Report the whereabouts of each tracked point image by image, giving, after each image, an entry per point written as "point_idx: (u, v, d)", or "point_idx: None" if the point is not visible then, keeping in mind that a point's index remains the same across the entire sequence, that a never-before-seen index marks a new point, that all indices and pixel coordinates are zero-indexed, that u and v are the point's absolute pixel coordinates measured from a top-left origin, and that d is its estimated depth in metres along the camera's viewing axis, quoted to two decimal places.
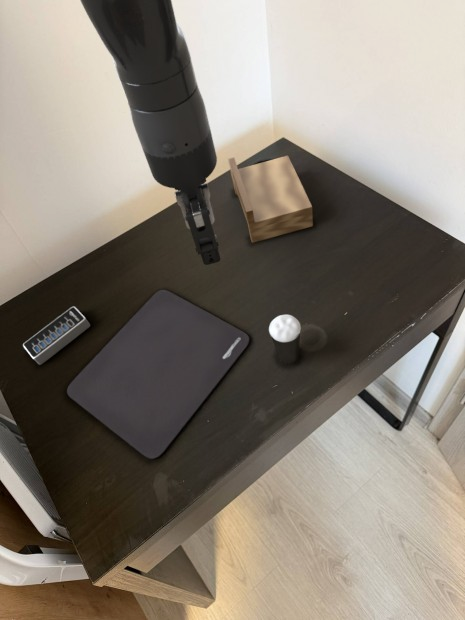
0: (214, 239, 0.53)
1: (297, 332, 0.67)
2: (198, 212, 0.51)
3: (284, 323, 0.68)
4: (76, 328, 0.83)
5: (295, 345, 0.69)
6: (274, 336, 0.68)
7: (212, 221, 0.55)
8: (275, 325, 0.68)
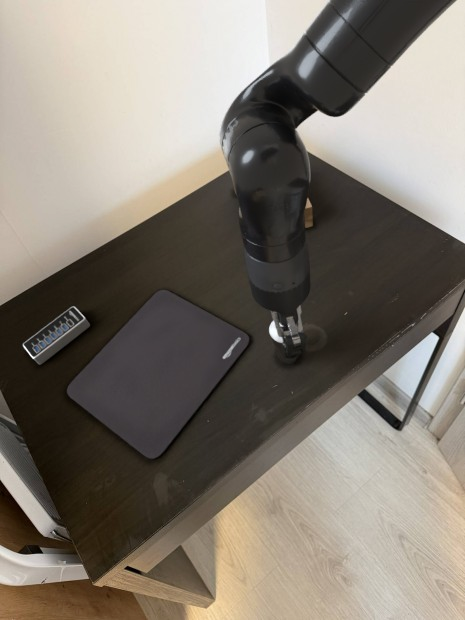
0: (304, 349, 0.62)
1: None
2: (297, 338, 0.59)
3: None
4: (76, 328, 0.83)
5: None
6: (274, 337, 0.67)
7: (300, 330, 0.63)
8: (275, 326, 0.68)
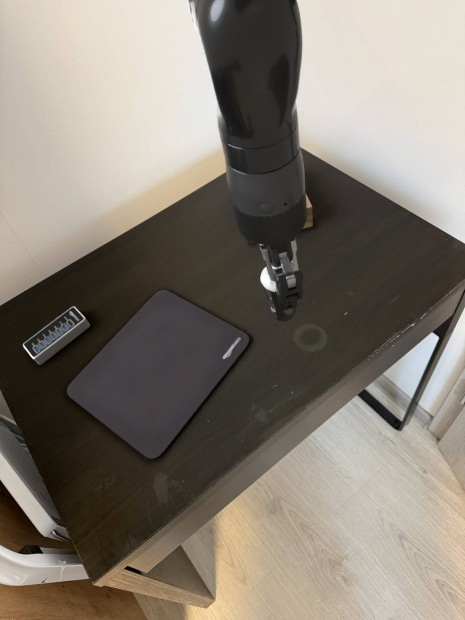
0: (301, 293, 0.52)
1: None
2: (292, 277, 0.49)
3: None
4: (76, 328, 0.83)
5: None
6: (266, 285, 0.58)
7: None
8: (267, 272, 0.58)
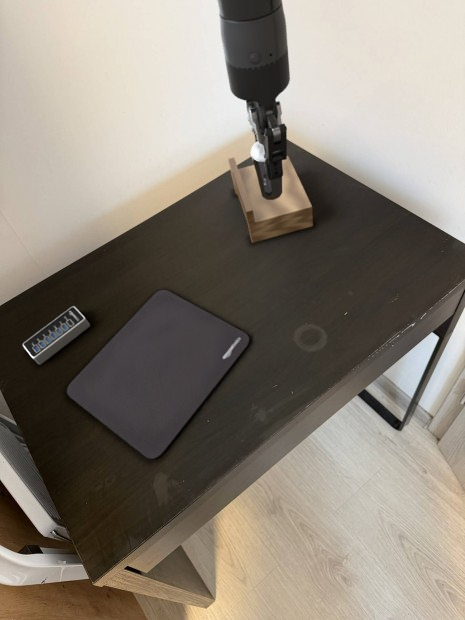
0: (285, 151, 0.61)
1: None
2: (277, 129, 0.57)
3: None
4: (76, 328, 0.83)
5: None
6: (255, 156, 0.66)
7: None
8: (256, 145, 0.67)
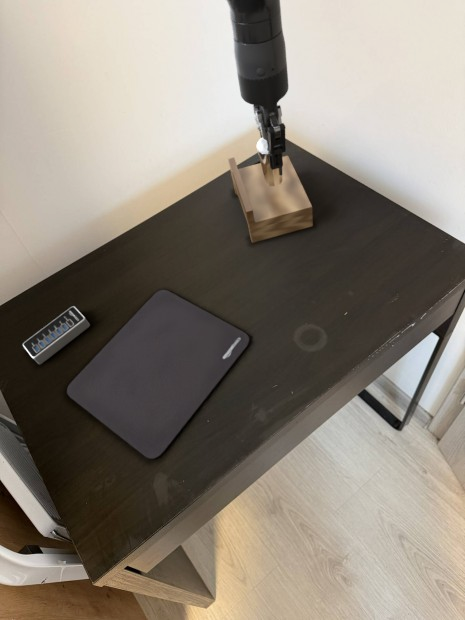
0: (284, 145, 0.76)
1: None
2: (278, 127, 0.72)
3: None
4: (76, 328, 0.83)
5: None
6: (260, 149, 0.81)
7: None
8: (261, 141, 0.81)
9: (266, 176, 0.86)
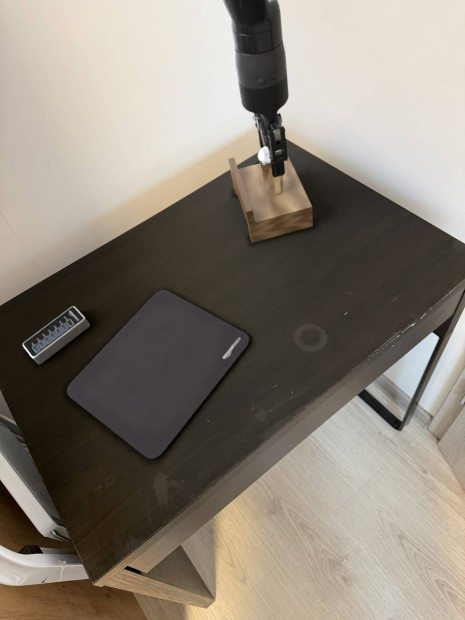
0: (286, 151, 0.75)
1: None
2: (277, 129, 0.73)
3: None
4: (75, 328, 0.83)
5: None
6: (262, 159, 0.83)
7: None
8: (262, 150, 0.83)
9: (267, 185, 0.88)
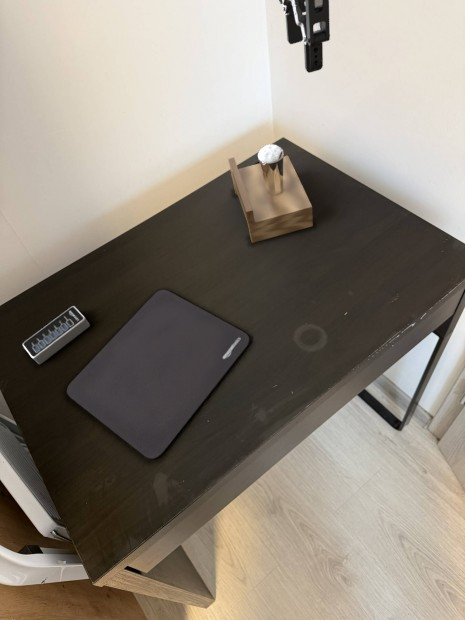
0: (328, 25, 0.56)
1: (280, 155, 0.83)
2: None
3: (270, 148, 0.83)
4: (75, 328, 0.83)
5: (279, 170, 0.85)
6: (262, 159, 0.83)
7: None
8: (262, 150, 0.83)
9: (267, 185, 0.88)
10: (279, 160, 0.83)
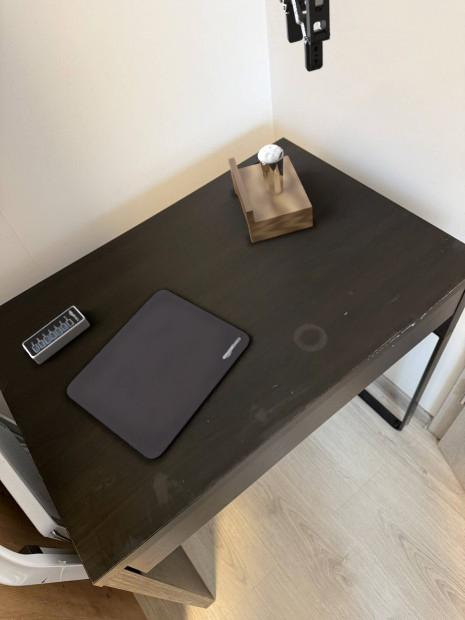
0: (328, 24, 0.55)
1: (280, 155, 0.83)
2: None
3: (270, 148, 0.83)
4: (75, 328, 0.83)
5: (279, 170, 0.85)
6: (262, 159, 0.83)
7: None
8: (262, 150, 0.83)
9: (267, 185, 0.88)
10: (279, 160, 0.83)
